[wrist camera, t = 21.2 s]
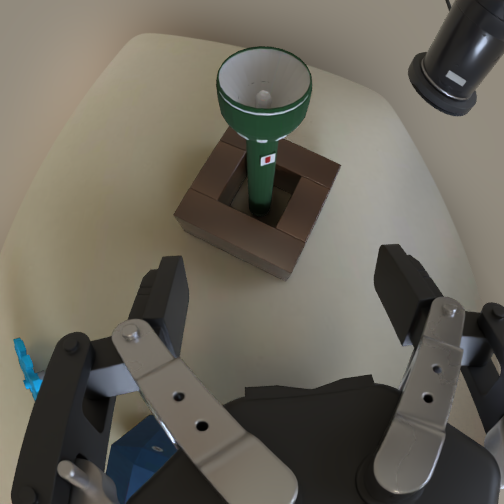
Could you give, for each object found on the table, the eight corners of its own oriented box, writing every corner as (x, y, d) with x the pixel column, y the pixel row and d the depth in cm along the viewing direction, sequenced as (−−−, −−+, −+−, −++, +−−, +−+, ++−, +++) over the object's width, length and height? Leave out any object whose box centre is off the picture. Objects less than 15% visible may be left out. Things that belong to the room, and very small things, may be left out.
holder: (236, 143, 36) (233, 118, 31) (330, 185, 35) (341, 164, 30) (184, 230, 34) (173, 215, 29) (285, 281, 33) (291, 273, 28)
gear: (7, 343, 29) (9, 336, 23) (47, 331, 34) (61, 321, 27) (42, 428, 28) (55, 445, 22) (80, 412, 33) (104, 423, 26)
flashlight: (244, 237, 34) (232, 123, 14) (229, 194, 35) (203, 57, 15) (290, 221, 34) (330, 98, 15) (273, 180, 35) (289, 38, 16)
